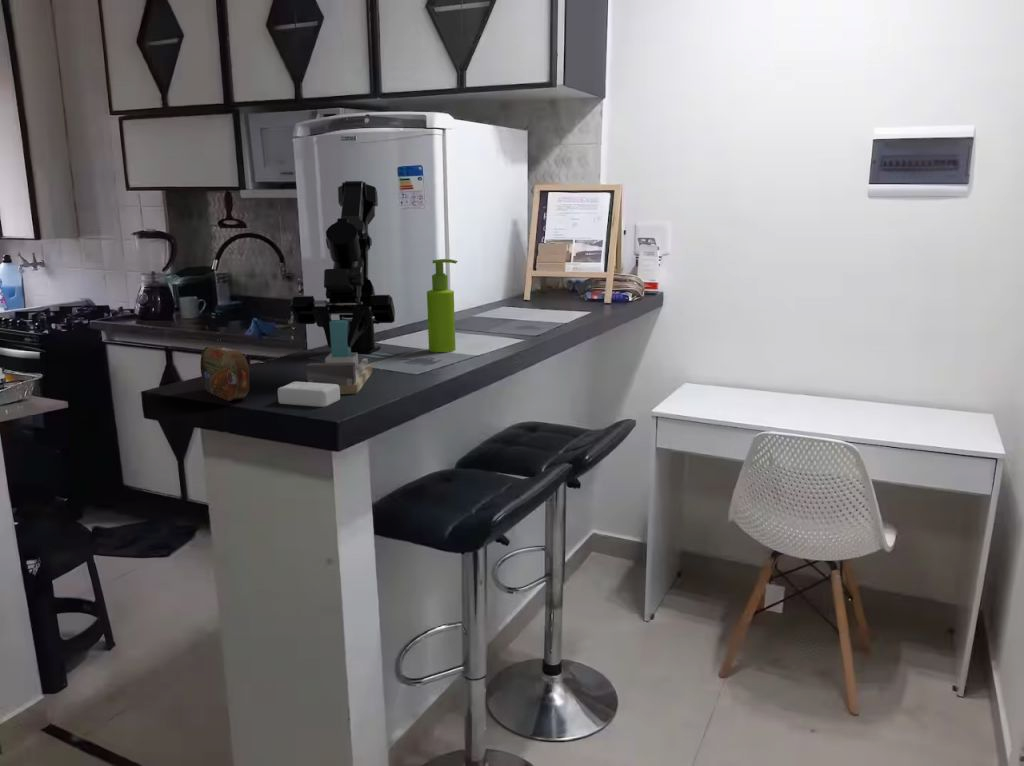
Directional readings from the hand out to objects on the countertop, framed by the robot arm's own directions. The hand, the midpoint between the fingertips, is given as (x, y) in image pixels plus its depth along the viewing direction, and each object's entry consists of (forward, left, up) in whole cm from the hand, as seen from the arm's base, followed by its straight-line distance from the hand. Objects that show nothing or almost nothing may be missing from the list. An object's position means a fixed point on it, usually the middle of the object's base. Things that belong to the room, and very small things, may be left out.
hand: (339, 346), depth 139 cm
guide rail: (+1, 0, -7) cm, 7 cm away
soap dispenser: (-32, +9, -7) cm, 34 cm away
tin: (+14, -15, -7) cm, 21 cm away
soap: (+14, +1, -7) cm, 16 cm away
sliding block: (-1, 0, -5) cm, 5 cm away
